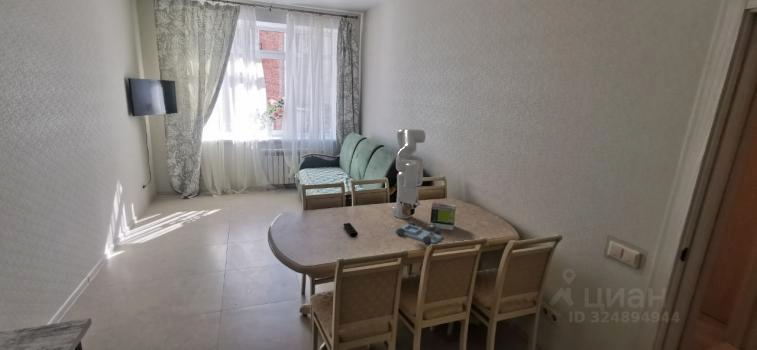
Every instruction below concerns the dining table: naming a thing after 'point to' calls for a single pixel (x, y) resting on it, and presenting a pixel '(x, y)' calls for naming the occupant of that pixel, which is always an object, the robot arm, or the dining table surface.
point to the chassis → (419, 233)
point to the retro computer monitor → (443, 215)
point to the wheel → (431, 228)
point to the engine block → (407, 209)
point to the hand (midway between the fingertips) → (408, 213)
